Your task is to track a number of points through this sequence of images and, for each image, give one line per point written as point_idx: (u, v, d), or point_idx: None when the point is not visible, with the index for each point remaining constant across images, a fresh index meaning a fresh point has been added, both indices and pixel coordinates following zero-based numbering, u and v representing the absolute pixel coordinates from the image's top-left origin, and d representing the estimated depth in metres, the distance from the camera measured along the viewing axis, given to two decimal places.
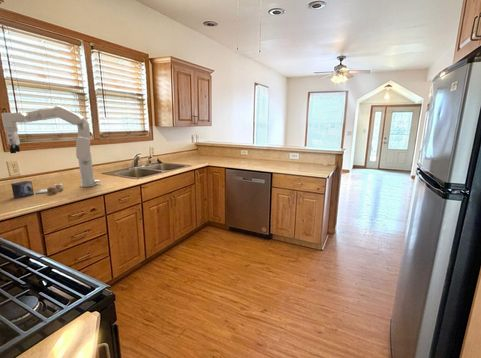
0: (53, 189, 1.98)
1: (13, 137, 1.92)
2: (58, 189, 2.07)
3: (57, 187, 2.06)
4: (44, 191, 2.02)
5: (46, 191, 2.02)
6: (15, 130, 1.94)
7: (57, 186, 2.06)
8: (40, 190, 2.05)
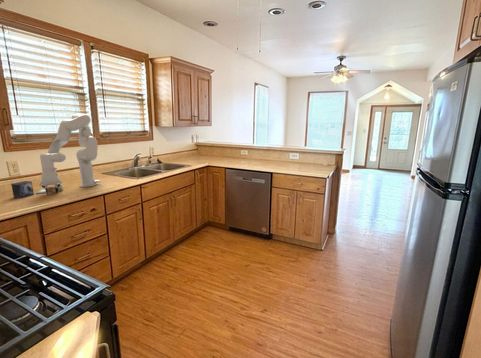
0: (53, 189, 1.98)
1: (57, 176, 2.01)
2: (58, 189, 2.07)
3: None
4: (44, 191, 2.02)
5: None
6: None
7: None
8: (40, 190, 2.05)
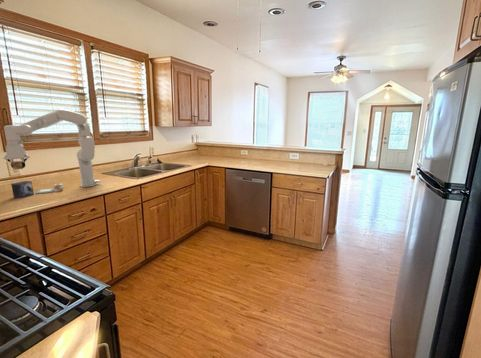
0: (19, 163, 1.87)
1: (24, 149, 1.90)
2: (58, 189, 2.07)
3: (57, 187, 2.06)
4: (44, 191, 2.02)
5: (46, 191, 2.02)
6: None
7: (57, 186, 2.06)
8: (40, 190, 2.05)
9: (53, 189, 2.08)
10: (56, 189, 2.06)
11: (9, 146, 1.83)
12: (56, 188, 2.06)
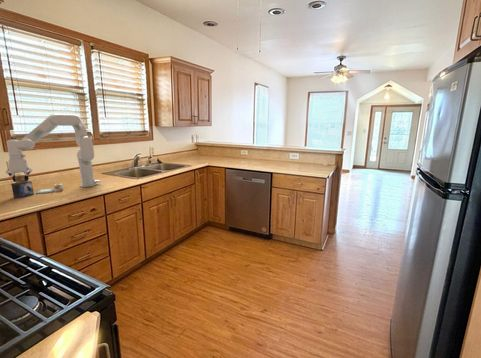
0: (22, 178, 1.89)
1: (26, 163, 1.92)
2: (58, 189, 2.07)
3: (57, 187, 2.06)
4: (44, 191, 2.02)
5: (46, 191, 2.02)
6: None
7: (57, 186, 2.06)
8: (40, 190, 2.05)
9: (53, 189, 2.08)
10: (56, 189, 2.06)
11: (11, 160, 1.85)
12: (56, 188, 2.06)
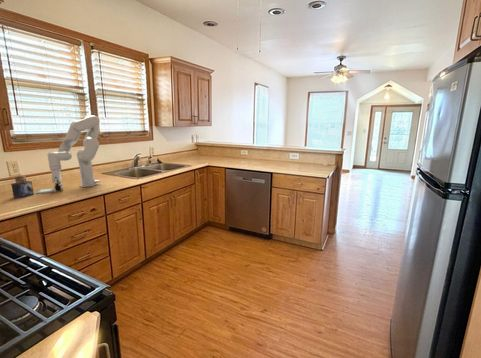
0: (21, 177, 1.89)
1: None
2: None
3: None
4: (44, 191, 2.02)
5: (46, 191, 2.02)
6: None
7: None
8: (40, 190, 2.05)
9: (53, 189, 2.08)
10: None
11: (59, 170, 2.04)
12: None
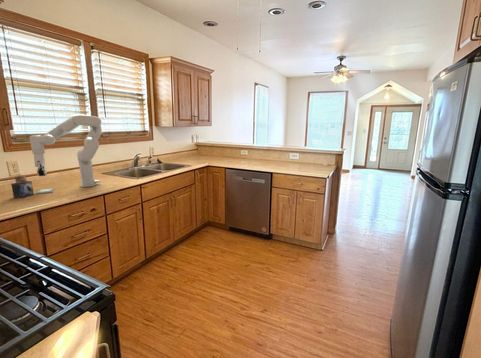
0: (22, 177, 1.89)
1: None
2: None
3: None
4: (44, 191, 2.02)
5: (46, 191, 2.02)
6: None
7: None
8: (40, 190, 2.05)
9: (53, 189, 2.08)
10: None
11: (42, 154, 1.98)
12: None
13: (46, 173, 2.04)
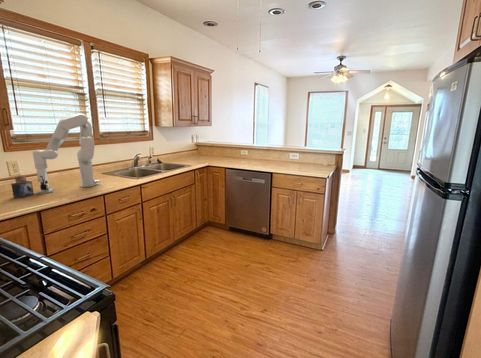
0: (22, 177, 1.89)
1: None
2: None
3: None
4: (44, 191, 2.02)
5: (46, 191, 2.02)
6: None
7: None
8: (40, 190, 2.05)
9: (53, 189, 2.08)
10: None
11: (44, 169, 2.00)
12: None
13: (49, 188, 2.07)
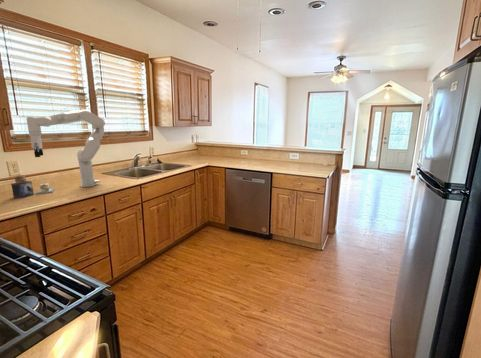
0: (21, 178, 1.89)
1: None
2: (44, 189, 2.02)
3: (43, 187, 2.02)
4: (44, 191, 2.02)
5: (46, 191, 2.02)
6: None
7: (43, 186, 2.02)
8: (40, 190, 2.05)
9: (53, 189, 2.08)
10: (42, 189, 2.02)
11: (39, 136, 1.94)
12: (42, 188, 2.02)
13: (49, 188, 2.07)
